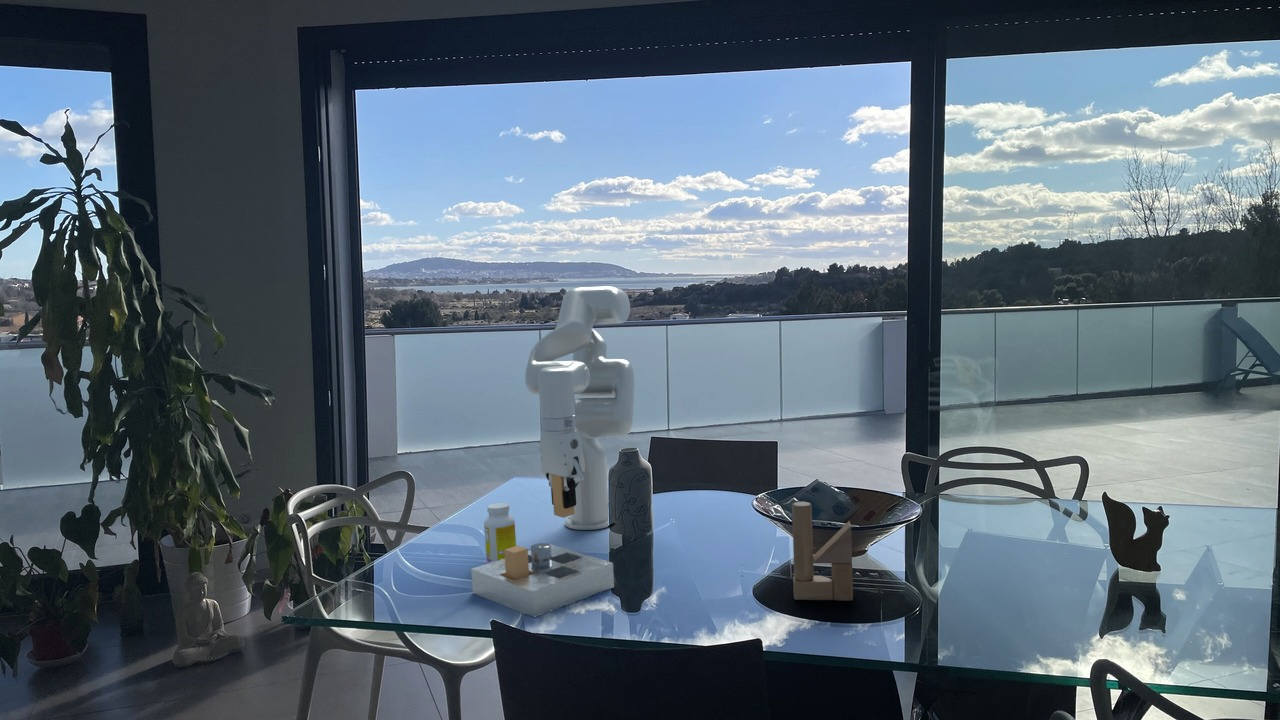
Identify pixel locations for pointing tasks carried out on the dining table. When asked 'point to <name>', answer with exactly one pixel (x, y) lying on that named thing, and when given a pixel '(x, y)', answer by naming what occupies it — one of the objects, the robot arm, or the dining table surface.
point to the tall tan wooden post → (516, 562)
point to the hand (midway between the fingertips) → (564, 504)
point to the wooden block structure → (820, 560)
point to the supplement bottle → (498, 531)
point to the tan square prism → (560, 497)
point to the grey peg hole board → (544, 580)
